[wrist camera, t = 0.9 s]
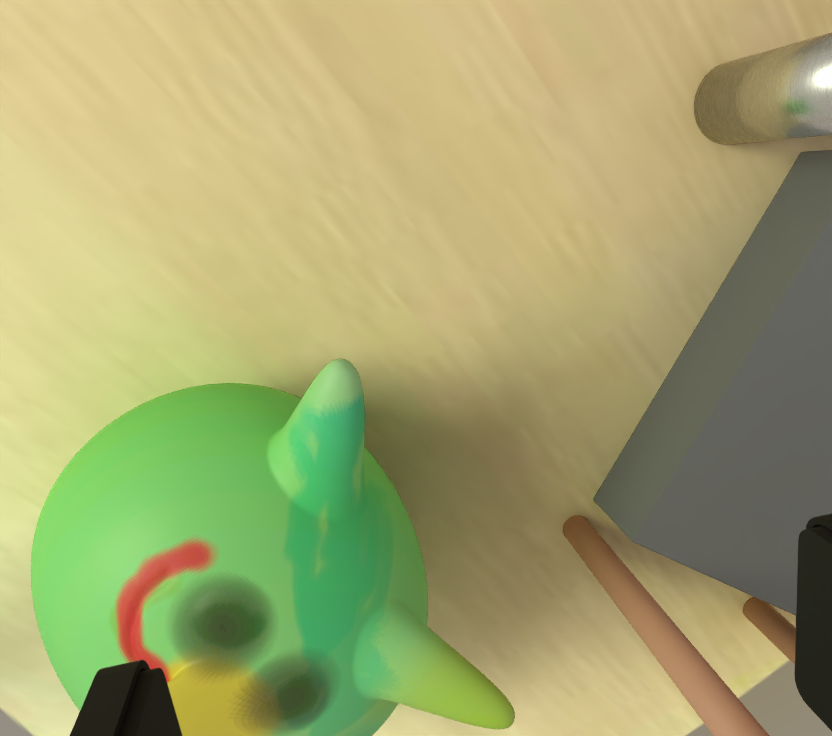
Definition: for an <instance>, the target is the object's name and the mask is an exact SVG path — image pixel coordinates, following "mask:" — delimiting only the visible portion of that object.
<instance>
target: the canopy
mask: <svg viewBox="0 0 832 736" xmlns="http://www.w3.org/2000/svg"><path fill="white" fill-rule="evenodd" d="M563 533H564V535H565V537H566V538H567V540H568V541H569V542H570V544H571V545H572V546H573V548H574V549H575V550H576V552H577V553H578V554H579V556H580V557H581V558H582V560H583V561H584V562H585V564H586V565H587V566H588V568H589V569H590V570H591V572H592V573H593V574H594V576H595V577H596V578H597V580H598V581H599V583H600V584H601V585H602V587H603V588H604V589H605V591H606V592H607V593H608V595H609V596H610V597H611V599H612V600H613V601H614V603H615V604H616V605H617V607H618V608H619V609H620V611H621V612H622V613H623V615H624V616H625V617H626V619H627V620H628V621H629V623H630V624H631V626H632V627H633V628H634V630H635V631H636V632H637V634H638V635H639V636H640V638H641V639H642V640H643V642H644V643H645V644H646V646H647V647H648V648H649V650H650V651H651V652H652V654H653V655H654V656H655V658H656V659H657V660H658V662H659V663H660V664H661V666H662V667H663V668H664V670H665V671H666V673H667V674H668V675H669V677H670V678H671V679H672V681H673V682H674V683H675V685H676V686H677V687H678V689H679V690H680V691H681V693H682V694H683V695H684V697H685V698H686V699H687V701H688V702H689V703H690V705H691V706H692V707H693V709H694V710H695V711H696V713H697V714H698V716H699V717H700V718H701V720H702V721H703V722H704V724H705V725H706V726H707V728H708V729H709V730H710V732H711V733H712V734H713V735H714V736H769V735H768V733H767V732H766V731H765V730H764V729H763V728H762V726H761V725H760V724H759V723H758V722H757V721H756V719H755V718H754V717H753V716H752V715H751V713H750V712H749V711H748V710H747V709H746V707H745V706H744V705H743V704H742V703H741V702H740V700H739V699H738V698H737V697H736V696H735V694H734V693H733V692H732V691H731V690H730V689H729V687H728V686H727V685H726V684H725V683H724V681H723V680H722V679H721V678H720V677H719V676H718V674H717V673H716V672H715V671H714V670H713V668H712V667H711V666H710V665H709V664H708V663H707V661H706V660H705V659H704V658H703V657H702V655H701V654H700V653H699V652H698V651H697V650H696V648H695V647H694V646H693V645H692V644H691V642H690V641H689V640H688V639H687V638H686V637H685V635H684V634H683V633H682V632H681V631H680V629H679V628H678V627H677V626H676V625H675V623H674V622H673V621H672V620H671V619H670V618H669V616H668V615H667V614H666V613H665V612H664V610H663V609H662V608H661V607H660V606H659V605H658V603H657V602H656V601H655V600H654V599H653V597H652V596H651V595H650V594H649V593H648V592H647V590H646V589H645V588H644V587H643V586H642V584H641V583H640V582H639V581H638V580H637V579H636V577H635V576H634V575H633V574H632V573H631V571H630V570H629V569H628V568H627V567H626V566H625V564H624V563H623V562H622V561H621V560H620V558H619V557H618V556H617V555H616V554H615V553H614V551H613V550H612V549H611V548H610V547H609V545H608V544H607V543H606V542H605V541H604V540H603V538H602V537H601V536H600V535H599V534H598V532H597V531H596V530H595V529H594V528H593V527H592V525H591V524H590V523H589V522H588V521H587V519H586V518H584V517H582V516H573V517H571V518H569V519H568V520H567V521H566V522H565V524H564V526H563ZM743 613H744V615H745V616H746V617H747V618H748V619H749V620H750V621H751V622H752V623H753V624H754V625H755V626H756V627H757V628H758V629H759V630H760V631H761V632H762V633H763V634H764V635H765V636H766V637H767V638H768V639H769V640H770V641H771V642H772V643H773V644H774V645H775V646H776V647H777V648H778V649H779V650H780V651H781V652H782V653H783V654H784V655H785V656H786V657H788V658H789V659H790V660H791V661H792V662H793V663H794V664H795V644H796V628H795V627H794V626H793V625H792V624H791V623H790V622H789V621H788V620H786V619H785V618H784V617H783V616H782V615H781V614H780V613H779V612H778V611H776V610H775V609H774V608H773V607H772V606H771V605H770V604H769V603H767V602H765V601H763V600H760V599H758V598H756V597H753V598H751V599H749V600H748V601H747V602H746V603H745V605H744V608H743Z"/></svg>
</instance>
